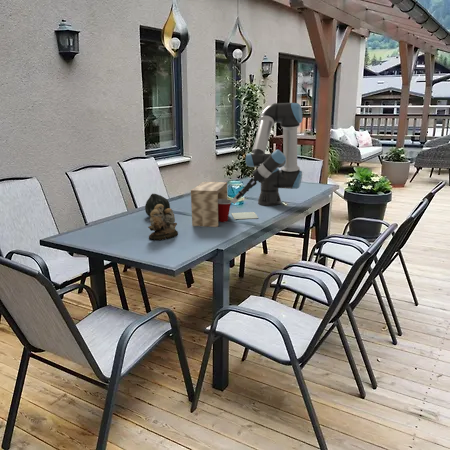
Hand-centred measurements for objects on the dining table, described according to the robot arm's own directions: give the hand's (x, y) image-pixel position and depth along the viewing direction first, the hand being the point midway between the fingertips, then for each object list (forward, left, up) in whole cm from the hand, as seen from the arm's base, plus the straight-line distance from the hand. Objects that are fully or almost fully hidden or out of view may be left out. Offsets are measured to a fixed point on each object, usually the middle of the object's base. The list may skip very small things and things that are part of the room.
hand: (235, 199), depth 250 cm
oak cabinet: (+14, -5, -13) cm, 19 cm away
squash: (+44, -21, -13) cm, 50 cm away
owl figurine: (+41, +21, -13) cm, 48 cm away
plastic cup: (+7, -3, -13) cm, 15 cm away
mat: (-7, -11, -13) cm, 18 cm away
